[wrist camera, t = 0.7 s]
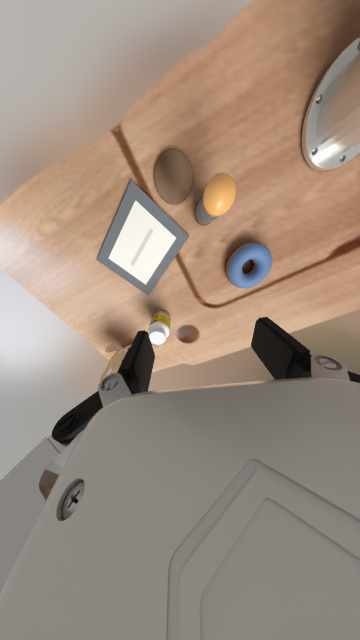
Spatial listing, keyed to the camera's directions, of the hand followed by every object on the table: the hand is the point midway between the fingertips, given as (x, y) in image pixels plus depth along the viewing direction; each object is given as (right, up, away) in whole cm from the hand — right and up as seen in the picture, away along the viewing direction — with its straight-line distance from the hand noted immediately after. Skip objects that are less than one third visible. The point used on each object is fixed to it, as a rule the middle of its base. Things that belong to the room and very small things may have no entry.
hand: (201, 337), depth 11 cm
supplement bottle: (-7, +2, +28) cm, 29 cm away
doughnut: (+14, +15, +21) cm, 30 cm away
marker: (+3, +24, +15) cm, 28 cm away
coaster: (-3, +28, +13) cm, 31 cm away
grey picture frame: (-11, +18, +18) cm, 28 cm away
